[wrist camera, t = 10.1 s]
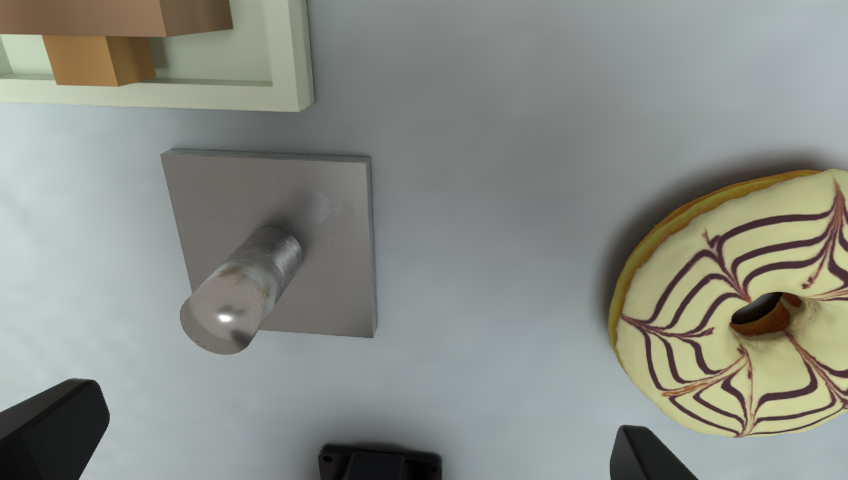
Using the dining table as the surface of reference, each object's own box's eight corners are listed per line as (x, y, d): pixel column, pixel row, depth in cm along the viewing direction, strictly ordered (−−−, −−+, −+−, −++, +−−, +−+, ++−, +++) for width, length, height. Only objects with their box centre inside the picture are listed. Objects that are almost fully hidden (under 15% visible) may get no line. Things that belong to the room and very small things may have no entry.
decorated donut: (937, 294, 19) (1035, 358, 16) (688, 419, 23) (725, 491, 20) (808, 96, 17) (892, 121, 13) (551, 276, 21) (565, 330, 17)
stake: (376, 327, 22) (345, 426, 17) (208, 315, 23) (130, 407, 18) (370, 157, 19) (329, 217, 14) (172, 148, 20) (61, 202, 14)
